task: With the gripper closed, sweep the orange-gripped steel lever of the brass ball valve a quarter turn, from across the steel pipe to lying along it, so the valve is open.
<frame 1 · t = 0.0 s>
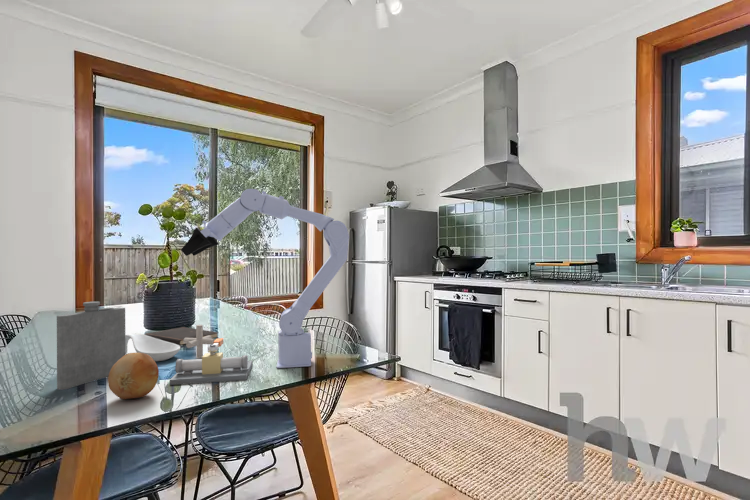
hand: (187, 253, 110), 32 cm above the table, tool tilted 50°, fingers open, 7 cm apart
valve lever: (216, 344, 109), point 7 cm above the table, hinge at -90.0°
spoon rest: (144, 359, 125), on the table
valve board: (212, 376, 105), on the table
hip flask: (92, 380, 103), on the table
pipe connector: (199, 358, 124), on the table
hardcover book: (181, 339, 154), on the table
onion: (134, 399, 89), on the table
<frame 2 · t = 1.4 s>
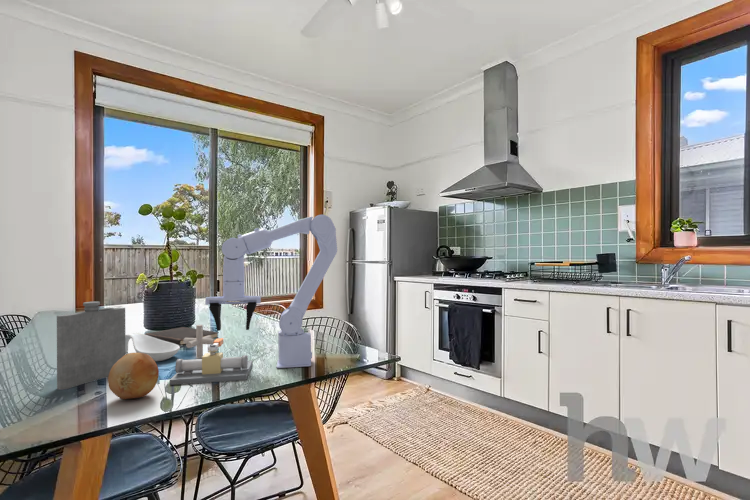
hand: (233, 329, 112), 11 cm above the table, tool pointing down, fingers open, 7 cm apart
nothing on the table moved.
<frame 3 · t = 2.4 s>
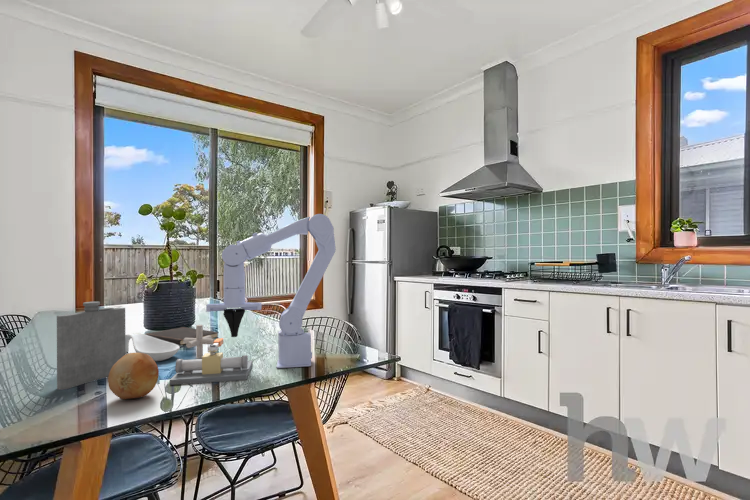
hand: (234, 336, 112), 9 cm above the table, tool pointing down, fingers closed
nothing on the table moved.
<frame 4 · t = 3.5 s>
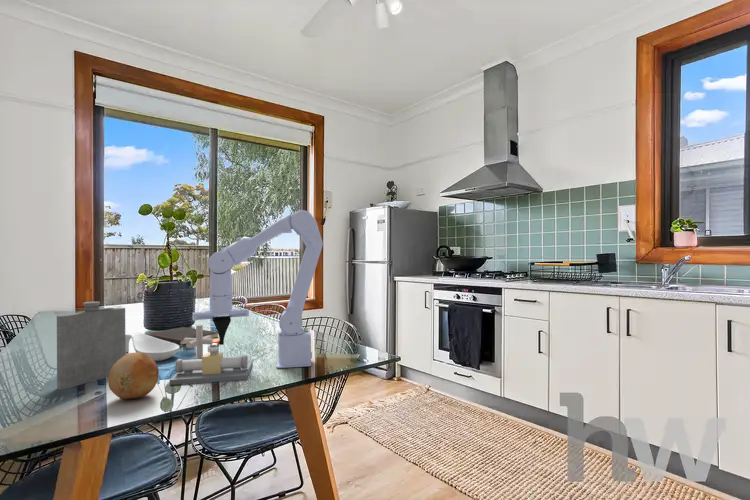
hand: (221, 344, 112), 7 cm above the table, tool pointing down, fingers closed, pressing on valve lever
valve lever: (214, 344, 109), point 7 cm above the table, hinge at -86.0°, touching gripper
everything else where it was.
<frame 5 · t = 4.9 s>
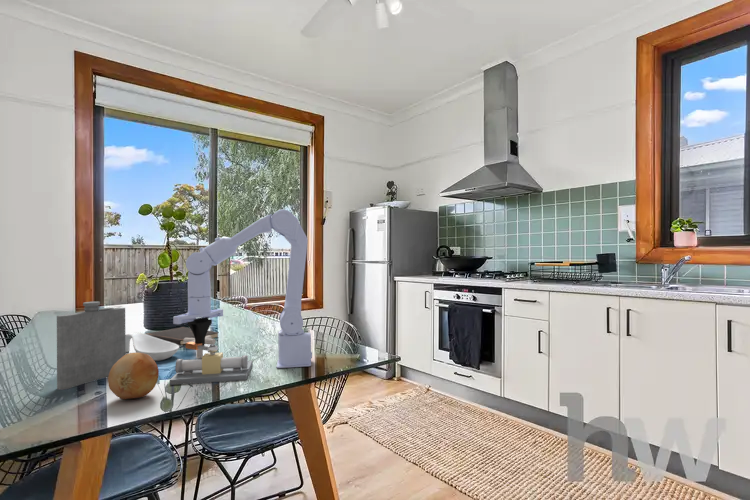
hand: (199, 346, 109), 7 cm above the table, tool pointing down, fingers closed, pressing on valve lever
valve lever: (201, 346, 107), point 7 cm above the table, hinge at -41.0°, touching gripper
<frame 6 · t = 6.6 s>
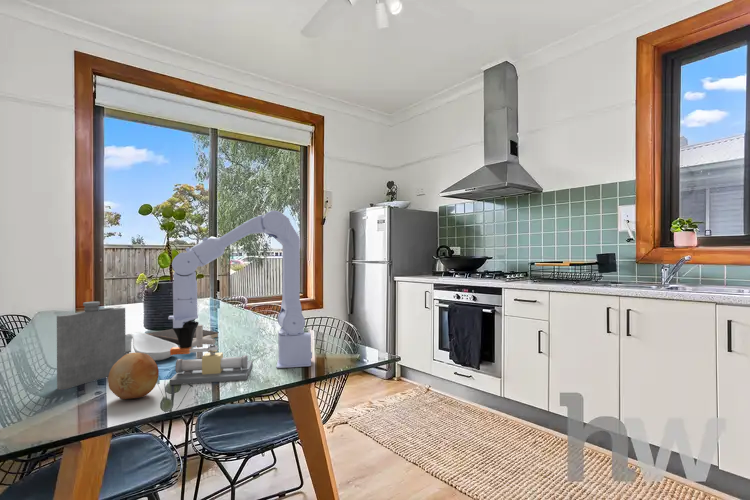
hand: (185, 350, 105), 7 cm above the table, tool pointing down, fingers closed
valve lever: (194, 349, 104), point 7 cm above the table, hinge at 0.4°, touching gripper
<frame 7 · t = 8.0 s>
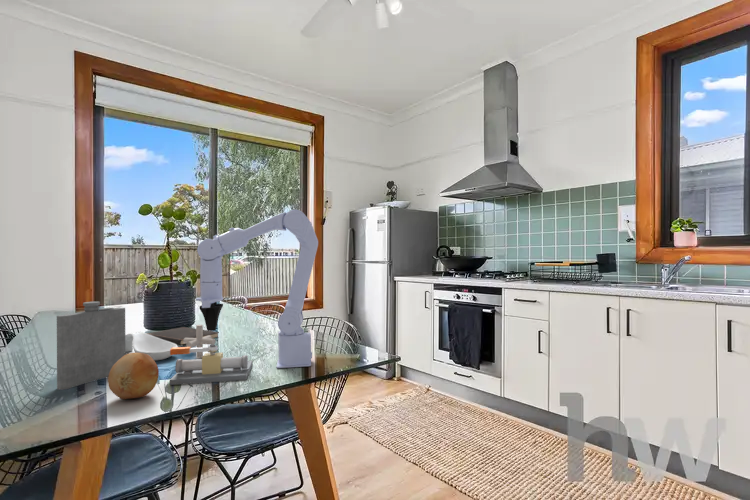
hand: (211, 330, 113), 10 cm above the table, tool pointing down, fingers closed
valve lever: (194, 349, 104), point 7 cm above the table, hinge at 0.6°
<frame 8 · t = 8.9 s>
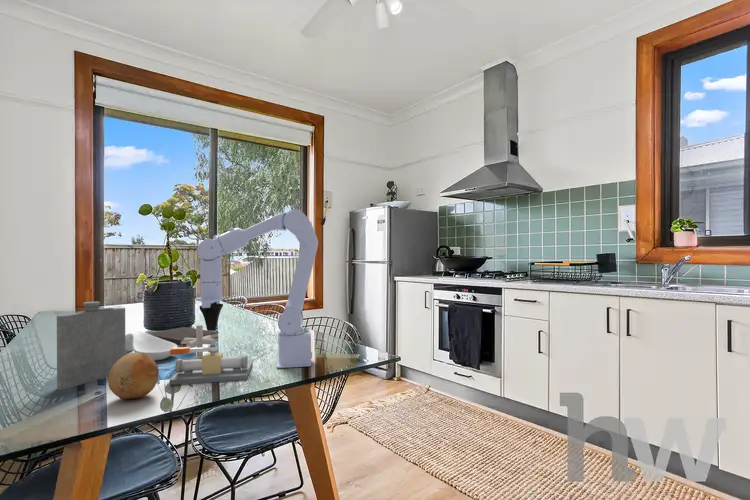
hand: (211, 330, 113), 10 cm above the table, tool pointing down, fingers closed
at the end: valve lever at +1° (first picture: -90°); pipe connector moved 0.2 cm from its start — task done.
